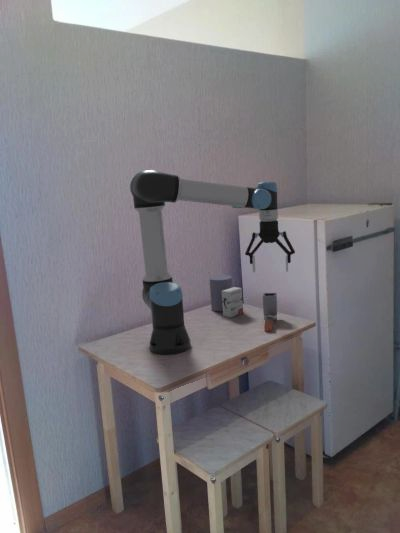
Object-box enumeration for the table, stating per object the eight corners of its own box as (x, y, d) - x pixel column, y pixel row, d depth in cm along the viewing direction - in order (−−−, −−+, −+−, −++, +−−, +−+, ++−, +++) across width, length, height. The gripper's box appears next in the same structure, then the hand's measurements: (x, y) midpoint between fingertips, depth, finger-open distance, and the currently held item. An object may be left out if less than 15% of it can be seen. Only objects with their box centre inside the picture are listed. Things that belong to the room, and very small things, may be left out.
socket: (263, 314, 197) (262, 296, 196) (264, 311, 202) (263, 293, 201) (276, 314, 196) (276, 296, 195) (277, 311, 201) (276, 292, 200)
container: (207, 310, 221) (204, 279, 218) (220, 304, 229) (218, 274, 226) (224, 313, 214) (222, 280, 212) (237, 307, 222) (236, 276, 219)
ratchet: (261, 331, 186) (260, 312, 184) (264, 318, 203) (263, 299, 201) (275, 331, 185) (274, 311, 183) (277, 317, 202) (276, 299, 200)
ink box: (235, 311, 216) (234, 286, 213) (243, 313, 212) (242, 287, 210) (222, 316, 210) (220, 290, 208) (230, 318, 206) (228, 291, 204)
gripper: (237, 222, 192) (239, 273, 196) (299, 219, 187) (301, 272, 191) (239, 220, 199) (241, 270, 203) (299, 217, 194) (301, 268, 198)
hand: (270, 271), depth 197 cm, fingers open, 13 cm apart
